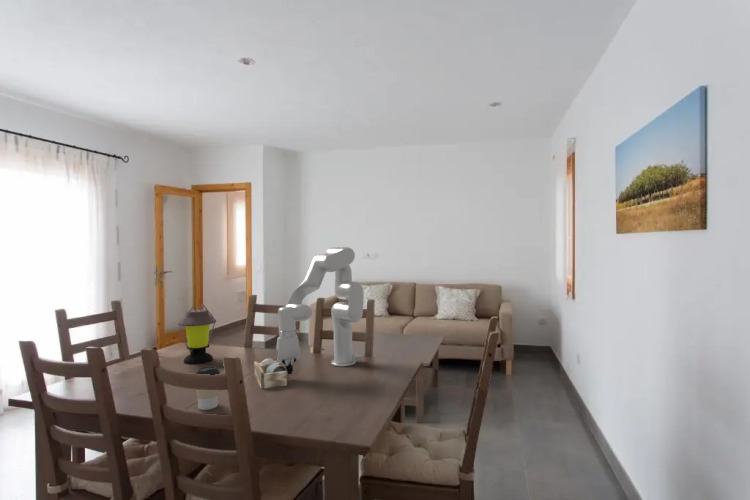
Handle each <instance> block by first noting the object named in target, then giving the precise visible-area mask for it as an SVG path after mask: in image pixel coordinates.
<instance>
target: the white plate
mask: <svg viewBox="0 0 750 500" xmlns="http://www.w3.org/2000/svg"><path fill="white" fill-rule="evenodd" d="M275 361H276V360H274V359H272V358H265V359H264V360H262V361H261V362H260V363H261V364H260V365H266V364H274V363H276V362H275Z"/></svg>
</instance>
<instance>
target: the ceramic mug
mask: <svg viewBox="0 0 750 500" xmlns="http://www.w3.org/2000/svg"><path fill="white" fill-rule="evenodd" d="M282 371H287V369H286V366H285V365H281V364H280V365H278V364H272V365H270V366H268V368H267V370H266V374H267V373H274V372H282Z"/></svg>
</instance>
